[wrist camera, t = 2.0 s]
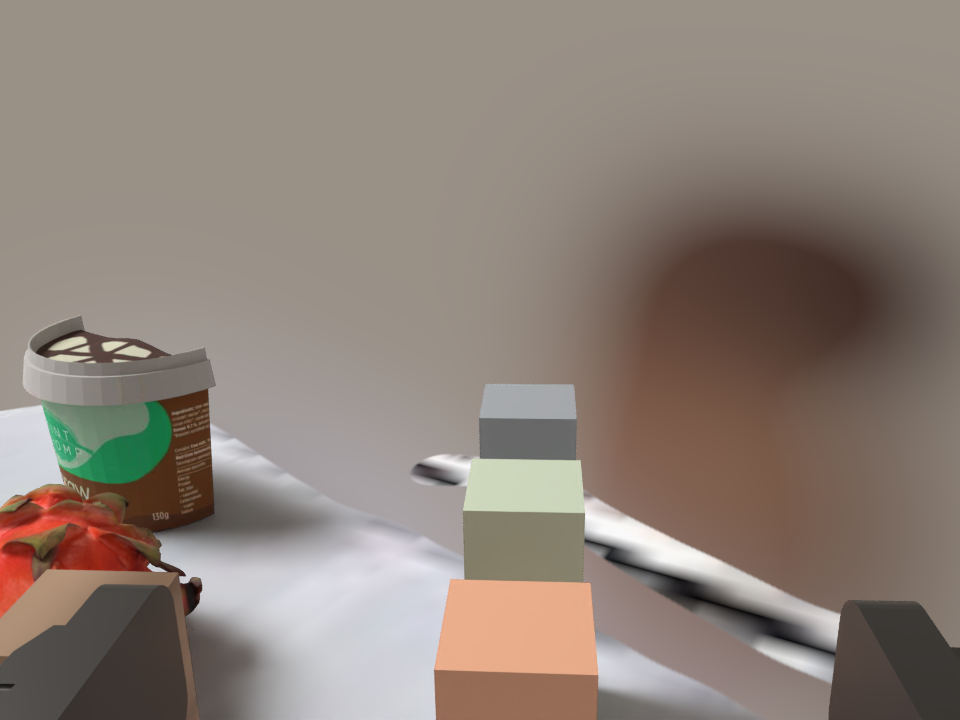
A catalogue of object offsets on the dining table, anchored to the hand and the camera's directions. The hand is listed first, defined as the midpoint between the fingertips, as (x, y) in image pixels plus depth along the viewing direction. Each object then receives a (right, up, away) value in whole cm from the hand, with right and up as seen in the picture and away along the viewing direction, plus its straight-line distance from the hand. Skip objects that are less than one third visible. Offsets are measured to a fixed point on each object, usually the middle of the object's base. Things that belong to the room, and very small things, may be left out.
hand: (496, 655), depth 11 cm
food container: (-21, -5, +40) cm, 45 cm away
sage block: (+2, -10, +24) cm, 26 cm away
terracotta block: (+1, -13, +16) cm, 21 cm away
